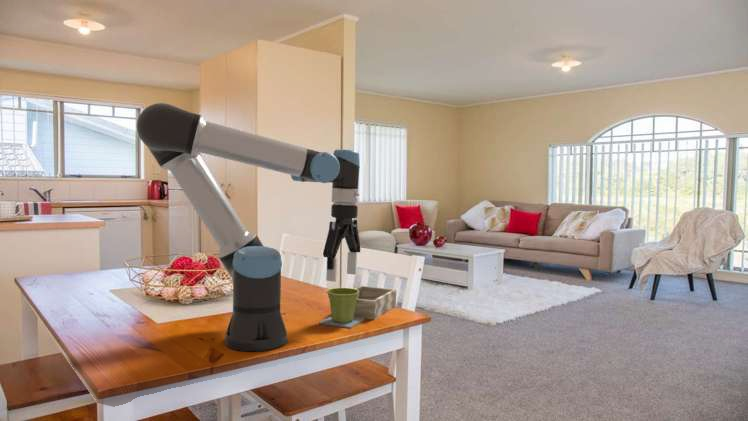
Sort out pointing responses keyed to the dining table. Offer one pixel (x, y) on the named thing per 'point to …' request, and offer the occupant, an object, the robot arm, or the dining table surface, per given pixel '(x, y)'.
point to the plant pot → (342, 304)
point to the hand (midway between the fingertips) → (341, 277)
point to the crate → (373, 301)
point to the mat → (346, 325)
